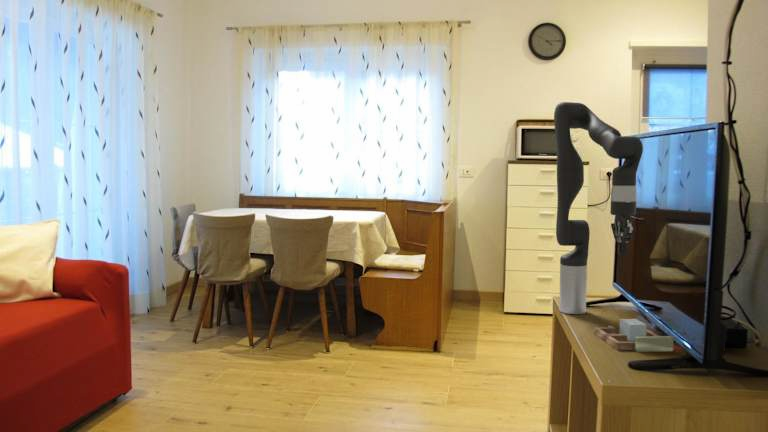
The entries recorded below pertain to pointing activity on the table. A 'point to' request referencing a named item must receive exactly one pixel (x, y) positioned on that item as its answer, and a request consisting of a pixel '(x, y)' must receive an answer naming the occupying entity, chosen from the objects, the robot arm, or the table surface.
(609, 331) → the trap lane
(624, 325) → the blue grey block
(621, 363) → the table surface
